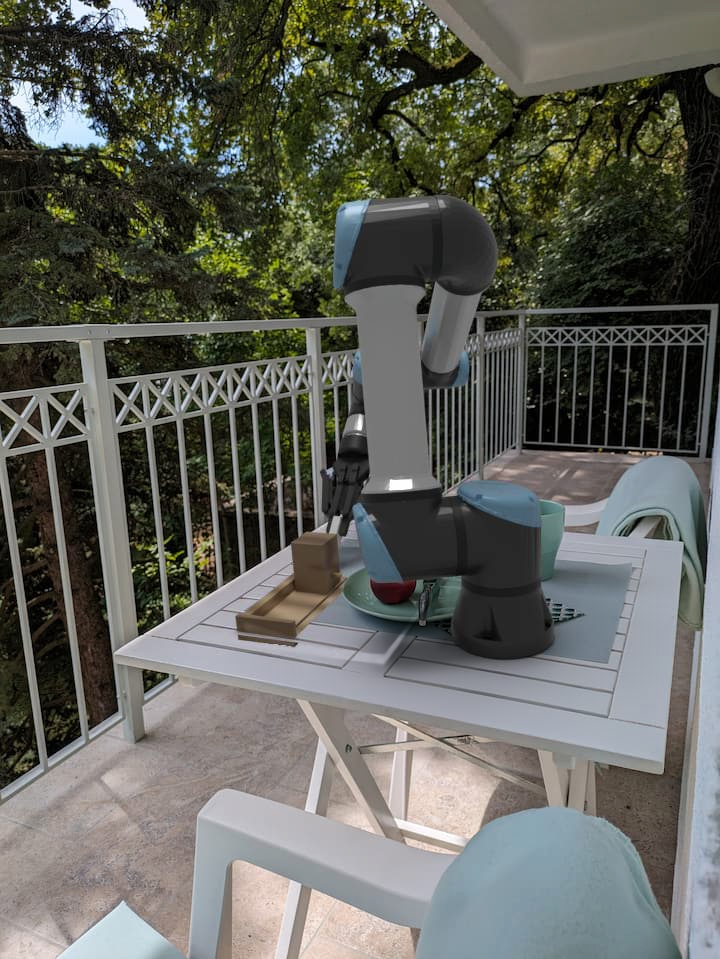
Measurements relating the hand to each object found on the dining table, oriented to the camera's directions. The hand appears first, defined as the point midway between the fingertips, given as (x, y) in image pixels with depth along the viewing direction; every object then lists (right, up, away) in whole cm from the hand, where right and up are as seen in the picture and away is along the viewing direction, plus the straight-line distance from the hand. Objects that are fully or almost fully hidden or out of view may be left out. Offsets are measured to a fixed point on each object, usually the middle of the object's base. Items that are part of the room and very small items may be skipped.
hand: (331, 550), depth 134 cm
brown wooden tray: (-5, -9, -11) cm, 15 cm away
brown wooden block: (-2, -6, -5) cm, 8 cm away
